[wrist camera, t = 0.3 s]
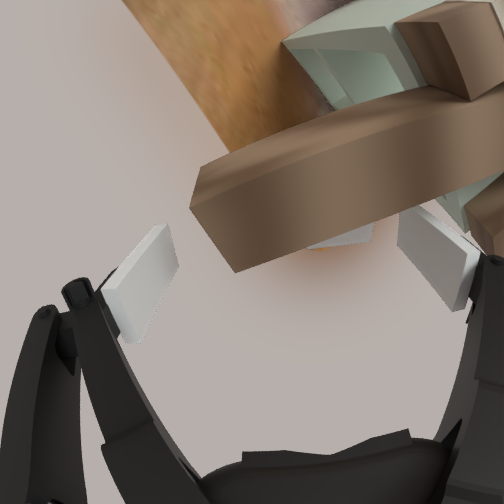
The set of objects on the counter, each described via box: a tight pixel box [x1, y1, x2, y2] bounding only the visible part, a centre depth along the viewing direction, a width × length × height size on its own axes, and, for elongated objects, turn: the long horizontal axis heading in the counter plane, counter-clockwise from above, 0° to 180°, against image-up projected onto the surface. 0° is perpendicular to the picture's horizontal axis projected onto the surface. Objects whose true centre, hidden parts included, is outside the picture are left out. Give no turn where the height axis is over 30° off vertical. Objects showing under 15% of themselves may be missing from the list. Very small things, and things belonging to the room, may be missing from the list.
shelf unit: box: [281, 0, 504, 233], centre depth 19 cm, size 14×13×30 cm
